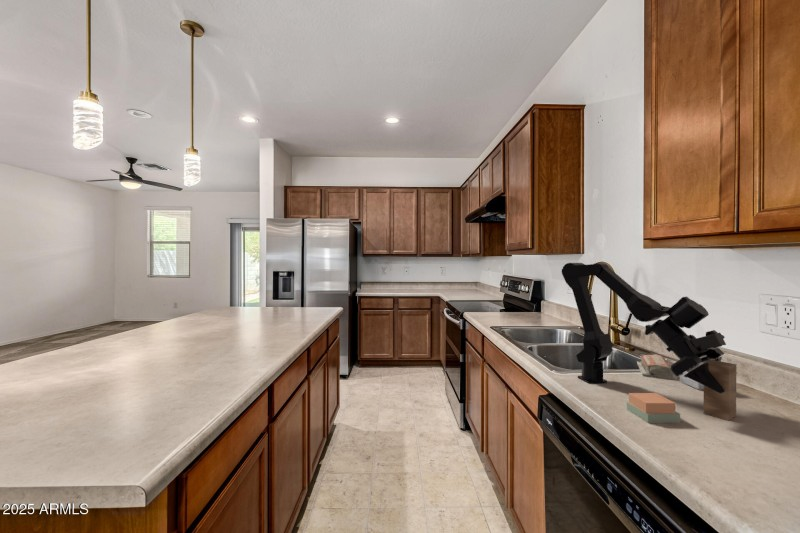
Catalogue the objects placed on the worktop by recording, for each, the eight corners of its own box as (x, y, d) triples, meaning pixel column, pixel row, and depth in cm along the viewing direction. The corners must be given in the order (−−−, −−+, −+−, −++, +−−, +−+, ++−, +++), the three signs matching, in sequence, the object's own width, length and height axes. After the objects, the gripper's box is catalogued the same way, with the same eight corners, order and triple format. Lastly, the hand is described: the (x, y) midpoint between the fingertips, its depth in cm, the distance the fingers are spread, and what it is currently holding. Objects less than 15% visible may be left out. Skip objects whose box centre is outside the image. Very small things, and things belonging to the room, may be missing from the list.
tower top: (629, 402, 97) (629, 393, 97) (656, 402, 97) (656, 393, 97) (646, 413, 90) (646, 403, 90) (675, 413, 90) (675, 403, 90)
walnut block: (703, 413, 94) (703, 362, 94) (711, 409, 97) (711, 359, 97) (728, 420, 90) (729, 367, 90) (736, 415, 93) (736, 364, 93)
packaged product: (678, 367, 121) (642, 363, 125) (678, 381, 121) (642, 377, 125) (668, 354, 137) (636, 351, 141) (668, 367, 137) (636, 364, 141)
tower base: (626, 411, 97) (626, 402, 97) (656, 411, 98) (656, 401, 98) (647, 424, 89) (647, 414, 89) (680, 424, 90) (680, 413, 90)
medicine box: (713, 390, 111) (713, 361, 111) (698, 390, 111) (698, 361, 111) (693, 381, 119) (693, 355, 119) (679, 381, 119) (679, 355, 119)
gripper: (685, 324, 92) (744, 380, 82) (714, 317, 102) (769, 366, 93) (650, 349, 98) (701, 404, 89) (680, 341, 108) (729, 389, 99)
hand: (726, 390), depth 92 cm, fingers closed on walnut block, 5 cm apart
